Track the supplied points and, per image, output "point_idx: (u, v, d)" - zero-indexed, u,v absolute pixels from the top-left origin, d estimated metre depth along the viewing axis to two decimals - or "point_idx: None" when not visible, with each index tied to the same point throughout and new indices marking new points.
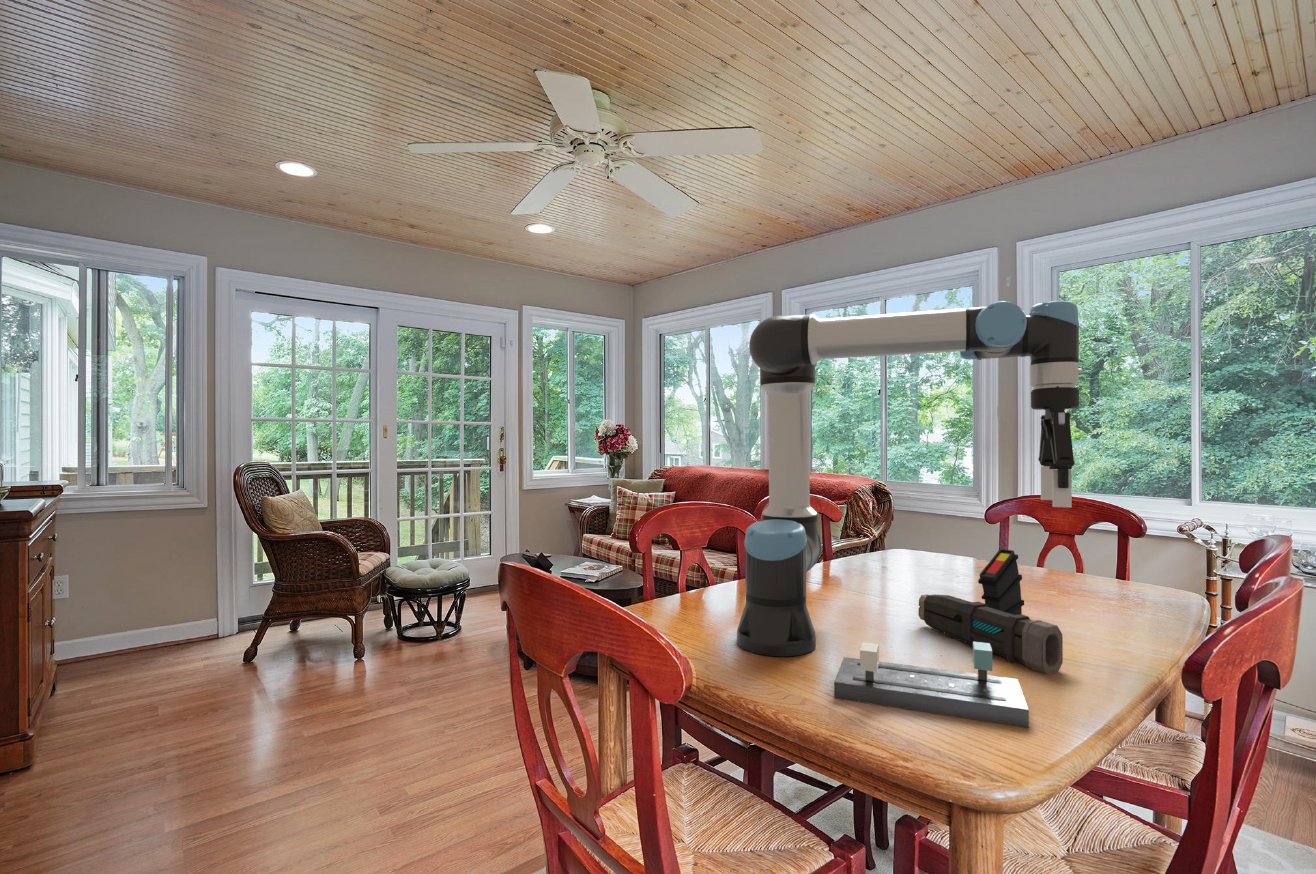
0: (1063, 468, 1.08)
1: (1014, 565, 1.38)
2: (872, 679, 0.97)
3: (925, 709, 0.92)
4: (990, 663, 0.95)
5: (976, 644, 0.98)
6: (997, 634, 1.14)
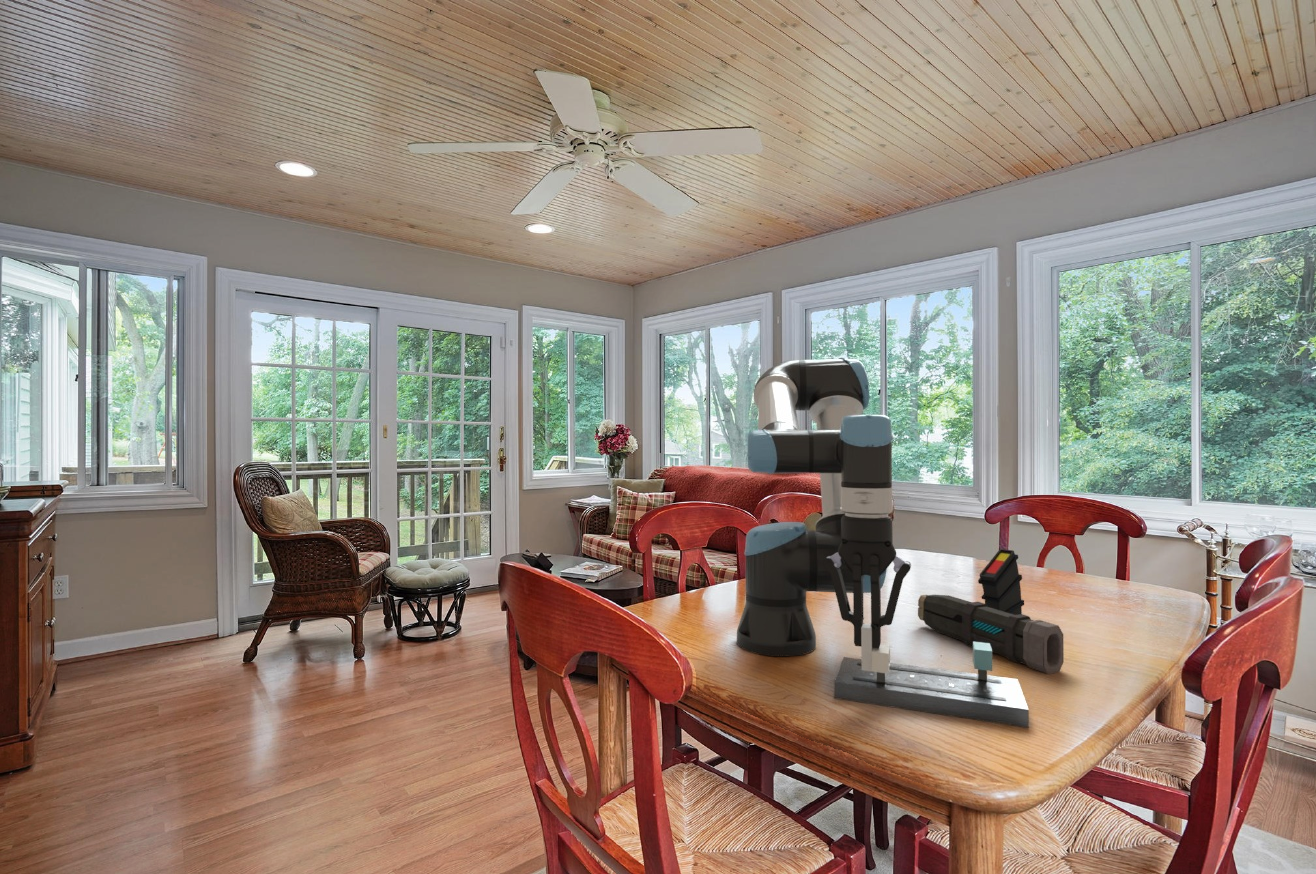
0: None
1: (1014, 565, 1.38)
2: (884, 681, 0.96)
3: (925, 709, 0.92)
4: (990, 663, 0.95)
5: (976, 644, 0.98)
6: (998, 634, 1.14)
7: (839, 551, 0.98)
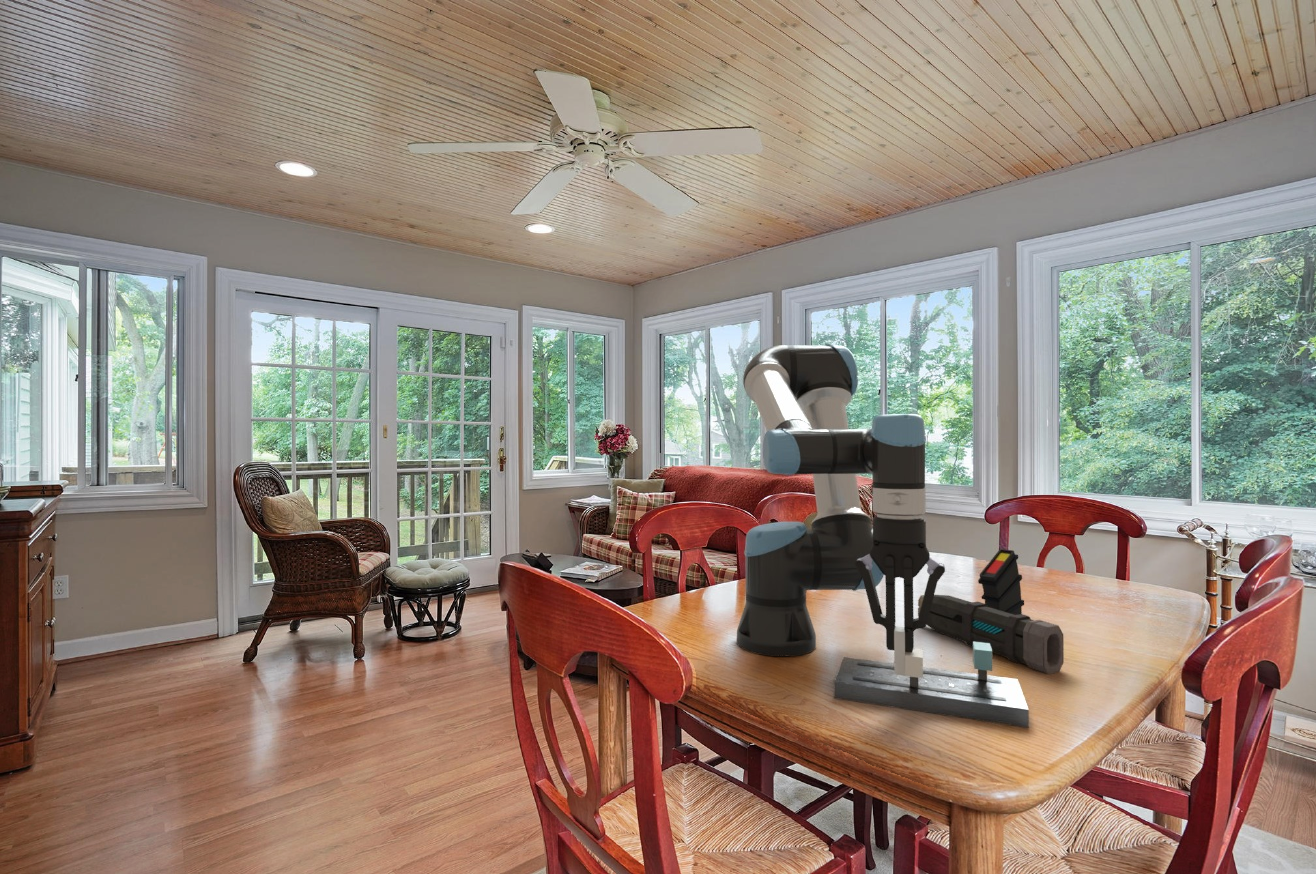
0: None
1: (1014, 565, 1.38)
2: (917, 685, 0.94)
3: (925, 709, 0.92)
4: (990, 663, 0.95)
5: (976, 644, 0.98)
6: (998, 634, 1.14)
7: (871, 553, 0.96)
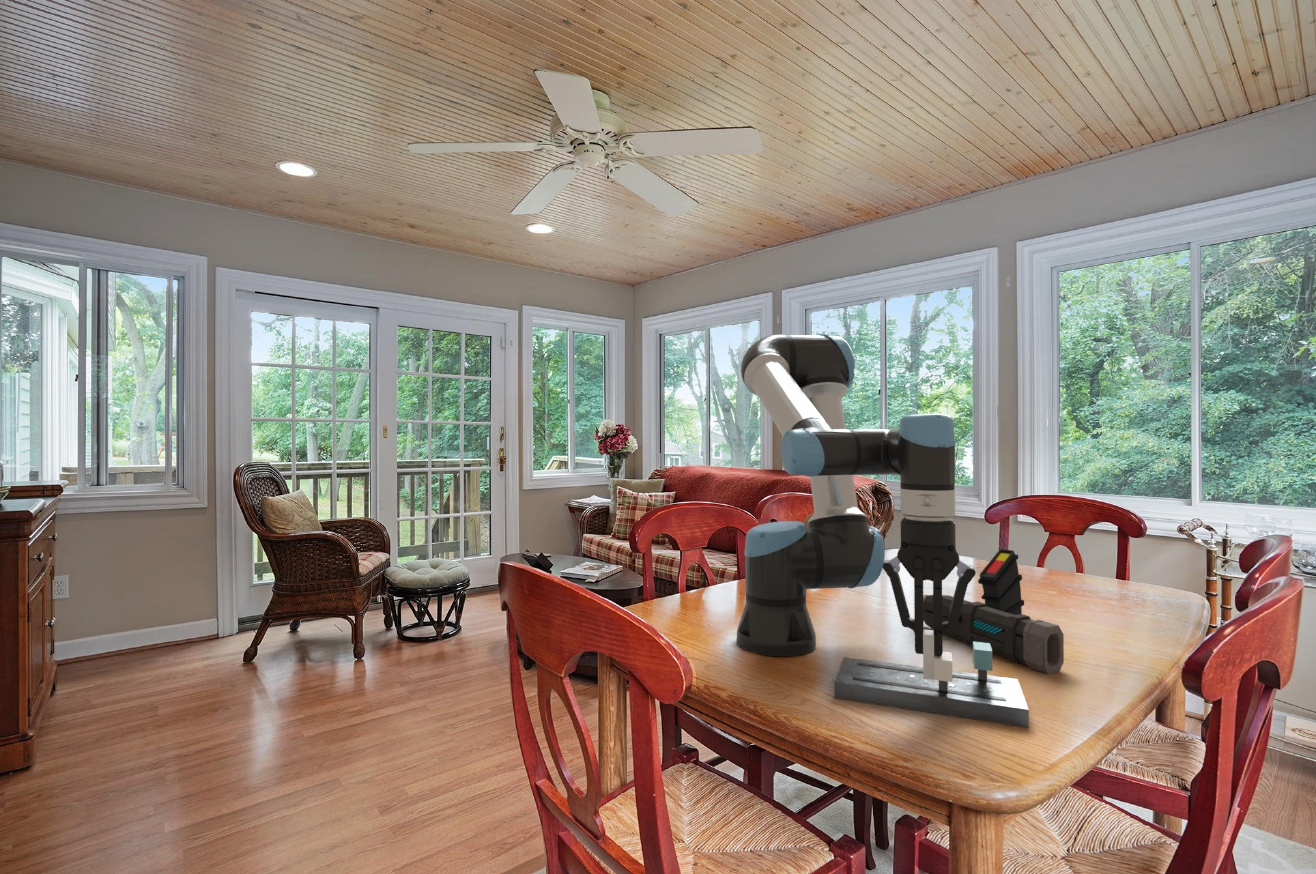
0: None
1: (1014, 565, 1.38)
2: (946, 689, 0.93)
3: (925, 709, 0.92)
4: (990, 663, 0.95)
5: (976, 644, 0.98)
6: (998, 634, 1.14)
7: (899, 555, 0.95)
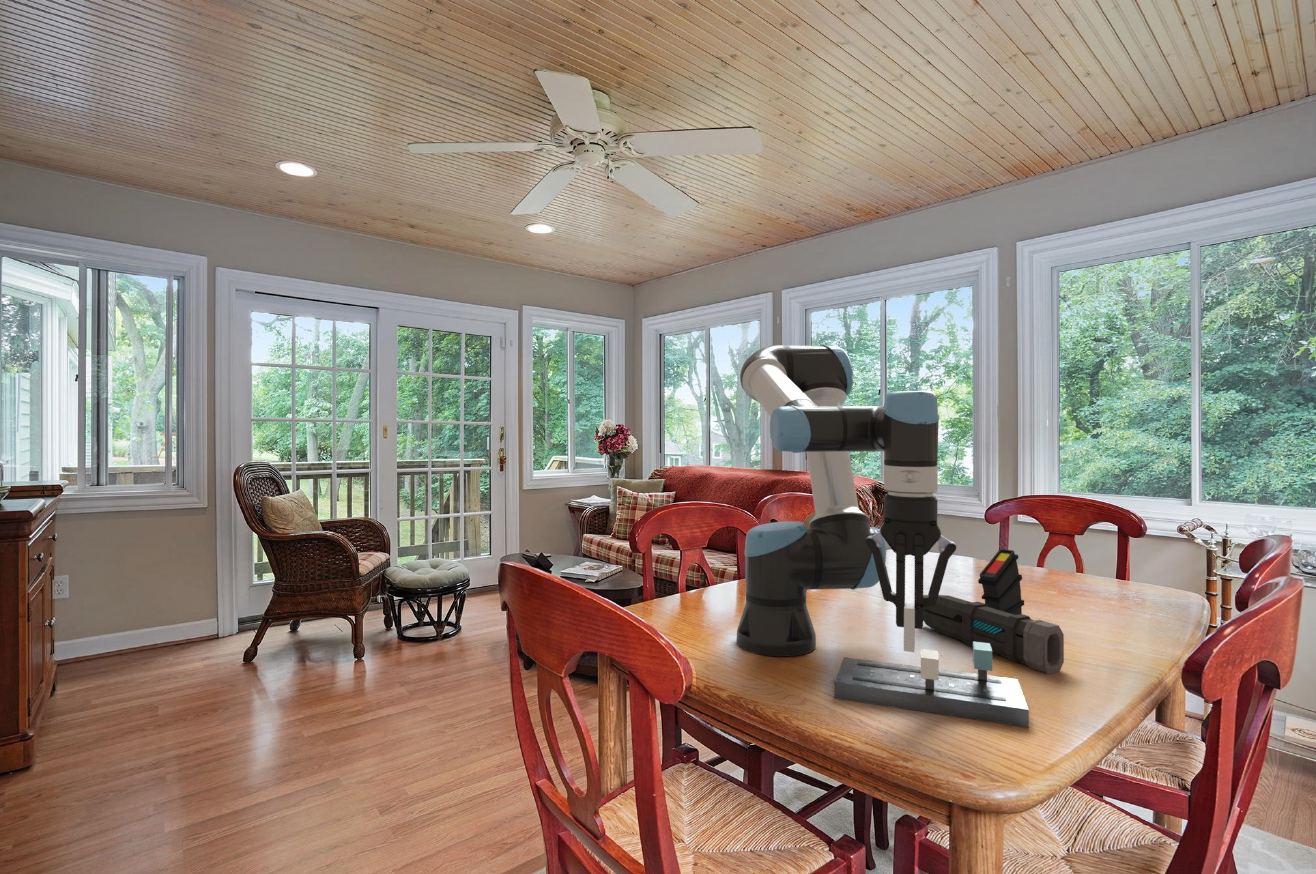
0: None
1: (1014, 565, 1.38)
2: (932, 687, 0.93)
3: (925, 709, 0.92)
4: (990, 663, 0.95)
5: (976, 644, 0.98)
6: (998, 634, 1.14)
7: (882, 531, 0.96)
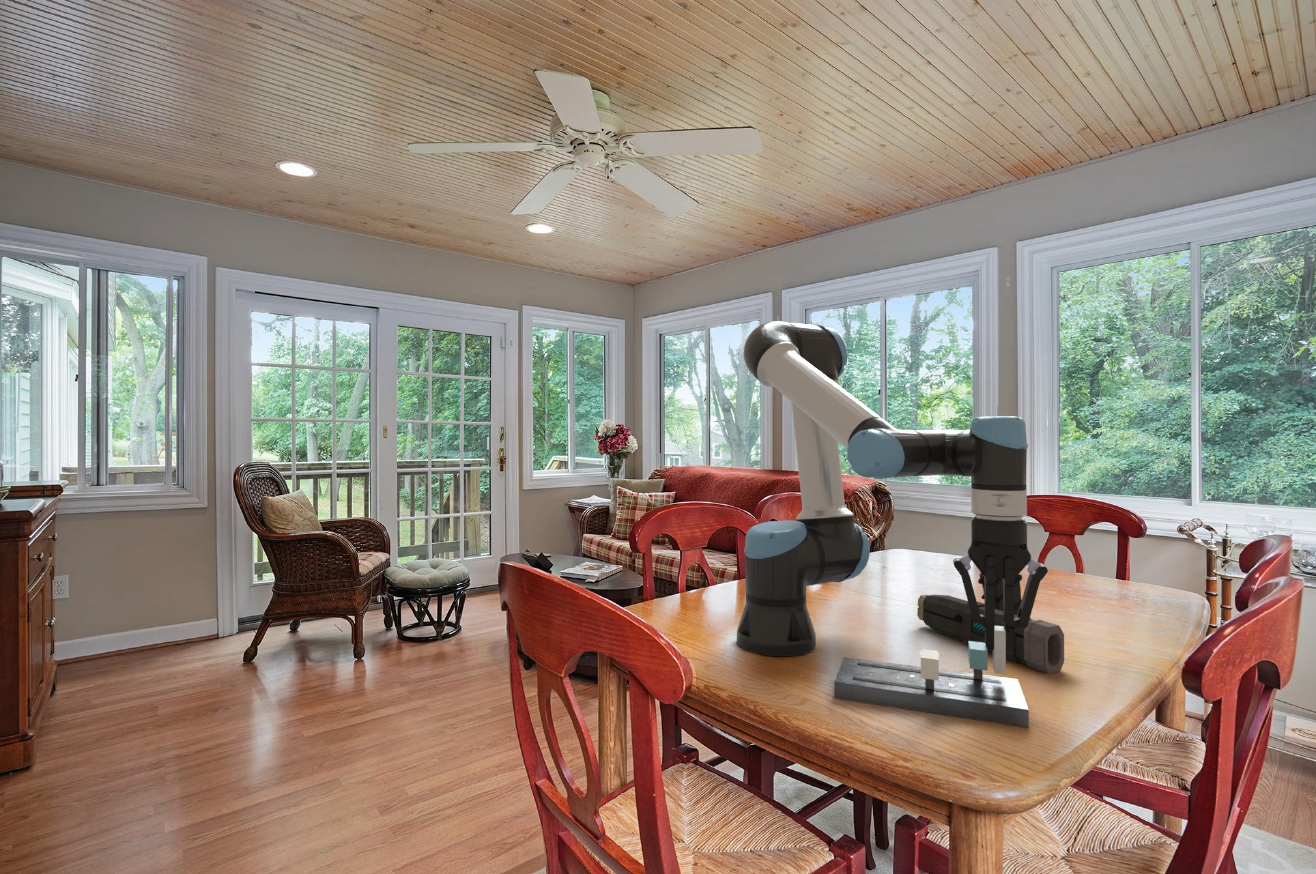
0: (982, 624, 0.97)
1: None
2: (932, 687, 0.93)
3: (925, 709, 0.92)
4: (985, 662, 0.95)
5: (972, 644, 0.98)
6: None
7: (970, 553, 0.97)
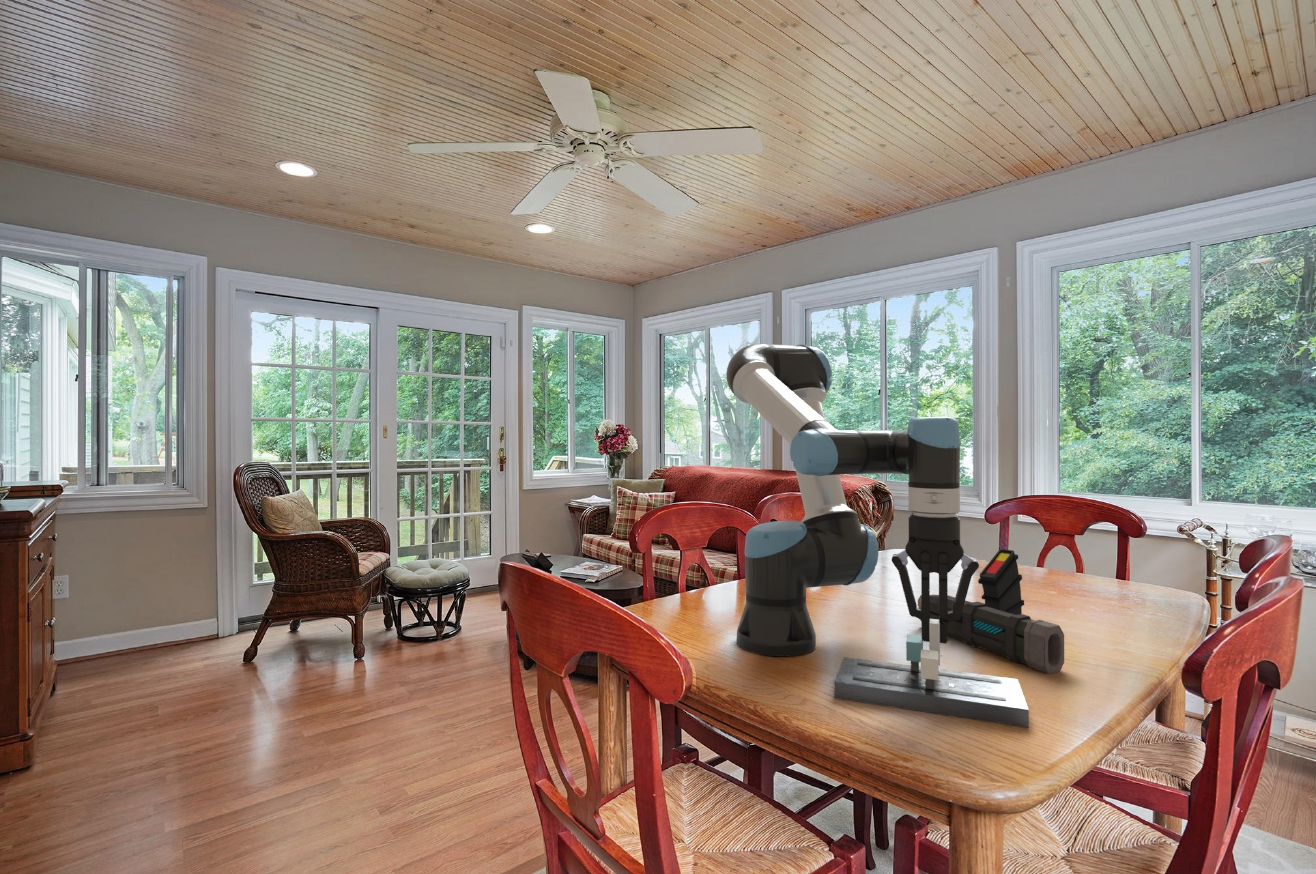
0: None
1: (1014, 565, 1.38)
2: (932, 687, 0.93)
3: (925, 709, 0.92)
4: None
5: (909, 637, 1.02)
6: (999, 634, 1.14)
7: (907, 549, 1.01)
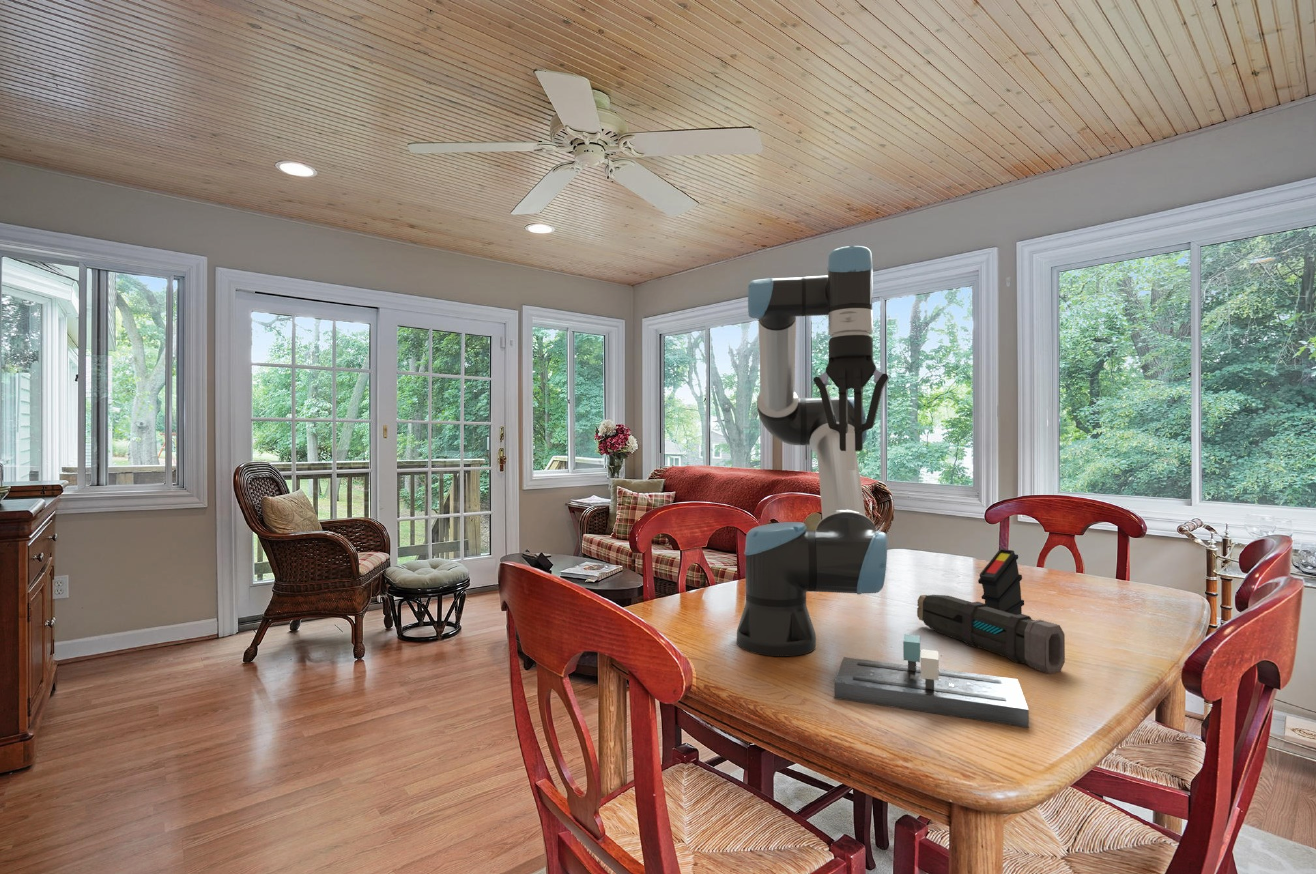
0: (838, 431, 1.12)
1: (1014, 565, 1.38)
2: (932, 687, 0.93)
3: (925, 709, 0.92)
4: (918, 654, 0.99)
5: (907, 637, 1.02)
6: (999, 634, 1.14)
7: (827, 369, 1.12)
